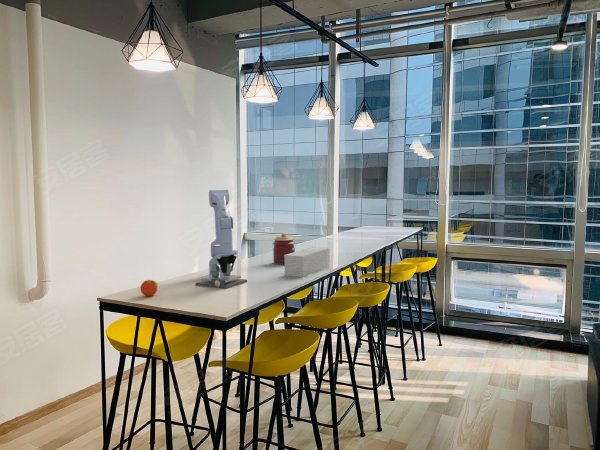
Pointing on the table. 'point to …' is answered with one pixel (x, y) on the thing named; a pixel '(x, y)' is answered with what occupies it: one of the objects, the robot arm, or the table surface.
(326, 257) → the light grey rectangular block
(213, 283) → the scale
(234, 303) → the table surface
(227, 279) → the pan
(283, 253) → the canister
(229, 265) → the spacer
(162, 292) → the table surface
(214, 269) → the spacer
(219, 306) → the table surface
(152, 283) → the clementine
